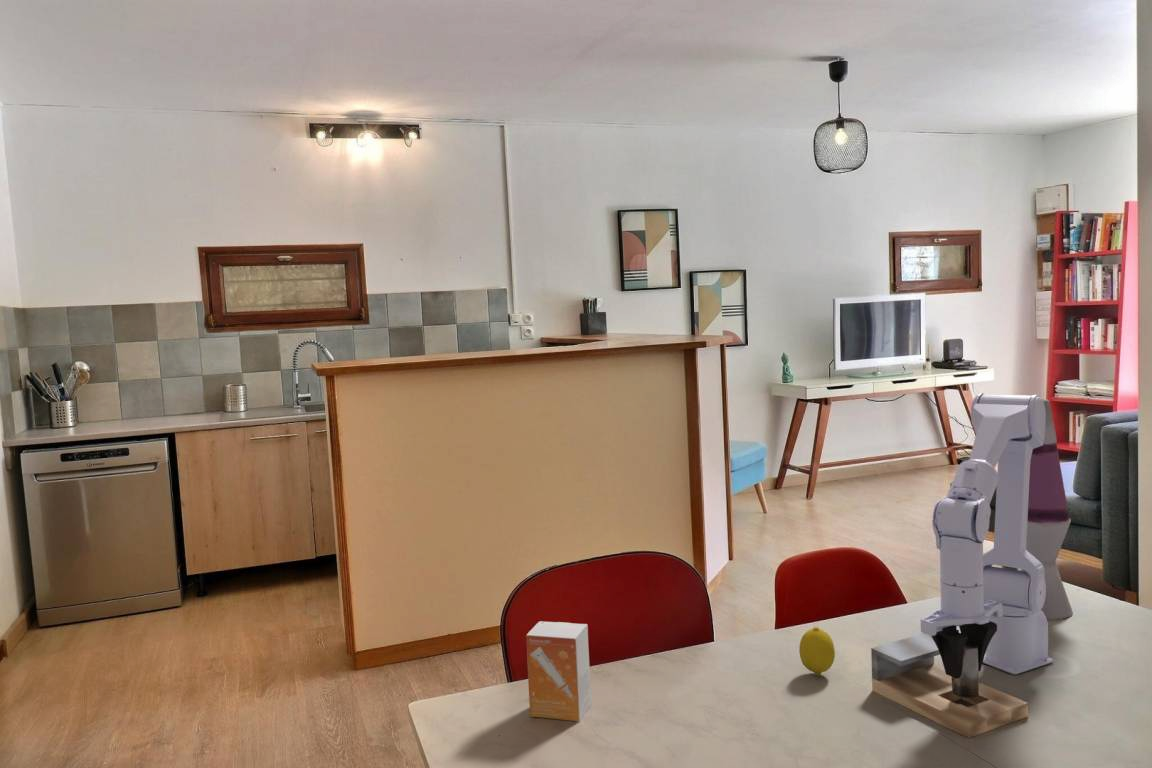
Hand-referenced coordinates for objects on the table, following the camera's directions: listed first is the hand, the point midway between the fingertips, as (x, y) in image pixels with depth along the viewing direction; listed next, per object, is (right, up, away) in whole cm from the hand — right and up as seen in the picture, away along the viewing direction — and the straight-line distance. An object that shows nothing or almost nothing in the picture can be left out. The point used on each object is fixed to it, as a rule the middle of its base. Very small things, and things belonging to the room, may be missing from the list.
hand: (963, 672), depth 131 cm
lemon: (-17, -6, +15) cm, 24 cm away
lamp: (+31, -1, +39) cm, 50 cm away
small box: (-59, -9, +7) cm, 60 cm away
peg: (0, -3, 0) cm, 3 cm away
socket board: (-1, -6, +3) cm, 7 cm away
